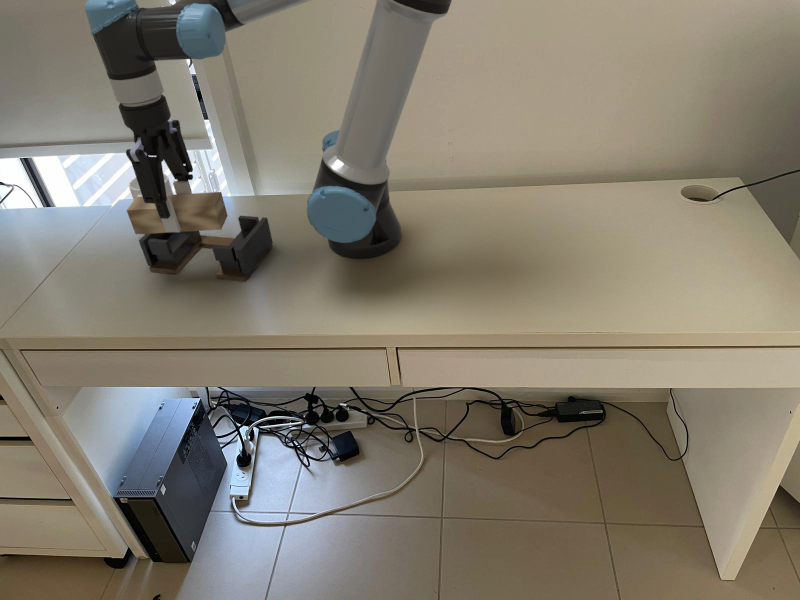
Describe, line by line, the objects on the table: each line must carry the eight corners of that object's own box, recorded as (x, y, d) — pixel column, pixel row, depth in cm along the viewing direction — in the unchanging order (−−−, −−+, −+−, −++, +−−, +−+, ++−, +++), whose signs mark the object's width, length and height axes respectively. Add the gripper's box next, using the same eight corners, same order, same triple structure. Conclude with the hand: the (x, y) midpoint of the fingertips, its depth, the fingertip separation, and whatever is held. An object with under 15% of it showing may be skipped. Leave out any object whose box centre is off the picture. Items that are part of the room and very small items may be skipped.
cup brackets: (274, 245, 133) (268, 216, 129) (247, 281, 123) (239, 251, 119) (181, 237, 138) (172, 209, 134) (148, 271, 128) (137, 241, 124)
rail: (227, 215, 120) (221, 191, 117) (221, 229, 116) (214, 205, 113) (144, 220, 121) (136, 196, 118) (135, 234, 117) (126, 210, 114)
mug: (161, 241, 137) (146, 199, 131) (127, 239, 139) (111, 197, 133) (187, 213, 147) (174, 172, 140) (155, 212, 148) (141, 171, 142)
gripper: (150, 79, 112) (187, 196, 126) (87, 121, 98) (137, 248, 112) (188, 79, 111) (222, 198, 125) (130, 121, 96) (175, 250, 110)
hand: (182, 221), depth 118 cm, fingers closed on rail, 6 cm apart
